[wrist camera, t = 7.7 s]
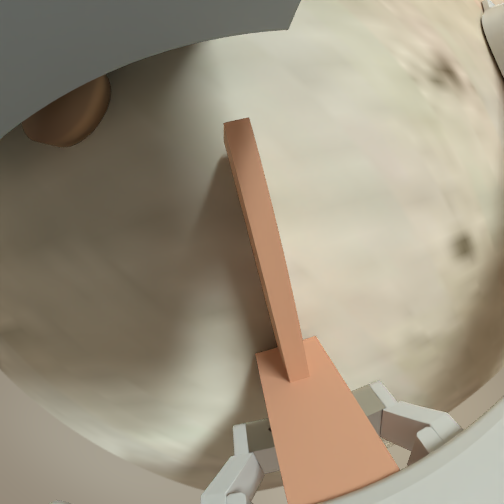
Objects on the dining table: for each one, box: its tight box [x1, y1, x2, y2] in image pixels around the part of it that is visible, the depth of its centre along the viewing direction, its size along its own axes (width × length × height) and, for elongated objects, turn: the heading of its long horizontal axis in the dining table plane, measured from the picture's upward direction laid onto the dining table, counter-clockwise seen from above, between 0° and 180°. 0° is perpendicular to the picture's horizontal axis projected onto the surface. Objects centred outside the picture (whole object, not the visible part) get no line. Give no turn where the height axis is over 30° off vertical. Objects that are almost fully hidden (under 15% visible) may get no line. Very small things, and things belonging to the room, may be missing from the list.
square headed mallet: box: [224, 118, 400, 504], centre depth 7 cm, size 3×12×9 cm, turn 15°
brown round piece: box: [22, 74, 111, 147], centre depth 9 cm, size 4×4×2 cm
